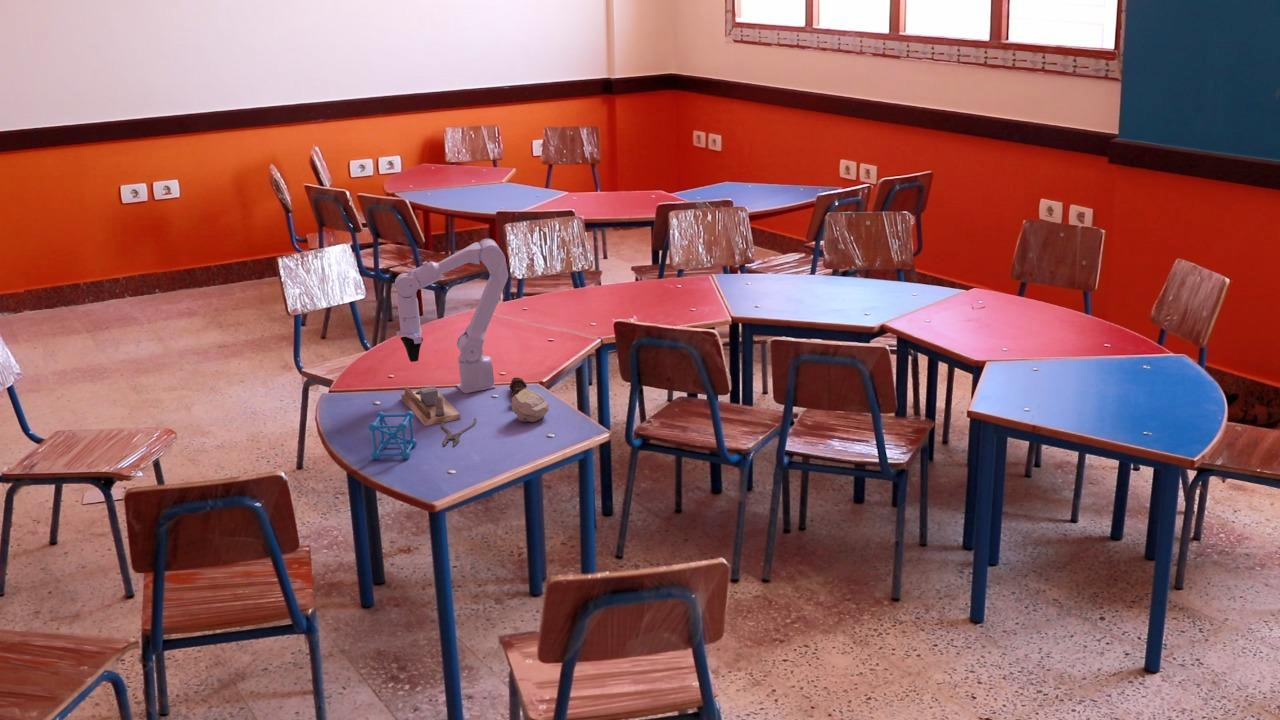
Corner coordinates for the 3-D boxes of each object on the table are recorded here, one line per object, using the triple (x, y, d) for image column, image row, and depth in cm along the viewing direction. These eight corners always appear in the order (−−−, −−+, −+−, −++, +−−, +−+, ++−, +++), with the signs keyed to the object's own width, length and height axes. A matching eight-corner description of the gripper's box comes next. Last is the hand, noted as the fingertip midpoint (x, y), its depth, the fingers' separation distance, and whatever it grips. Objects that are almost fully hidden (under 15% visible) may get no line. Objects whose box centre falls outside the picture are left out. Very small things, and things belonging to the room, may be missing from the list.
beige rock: (550, 410, 341) (514, 415, 341) (545, 381, 339) (509, 387, 339) (551, 423, 330) (514, 428, 329) (546, 393, 327) (509, 399, 327)
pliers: (475, 415, 338) (480, 442, 320) (476, 418, 338) (480, 445, 320) (440, 418, 337) (442, 446, 318) (440, 421, 337) (443, 449, 318)
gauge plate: (435, 392, 358) (433, 371, 356) (460, 418, 337) (458, 396, 335) (401, 398, 354) (399, 377, 352) (425, 425, 333) (422, 403, 331)
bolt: (520, 393, 360) (525, 410, 345) (504, 387, 358) (509, 403, 344) (528, 376, 359) (534, 392, 344) (513, 369, 357) (517, 385, 343)
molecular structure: (370, 461, 312) (366, 424, 309) (380, 445, 321) (376, 410, 318) (409, 460, 311) (405, 423, 308) (418, 445, 321) (414, 409, 318)
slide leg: (434, 399, 347) (433, 385, 346) (439, 403, 344) (437, 389, 342) (420, 402, 346) (419, 388, 344) (424, 406, 342) (423, 392, 341)
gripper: (388, 311, 353) (393, 356, 358) (402, 324, 341) (407, 370, 345) (412, 307, 356) (417, 352, 361) (426, 320, 344) (431, 366, 348)
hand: (414, 360), depth 353 cm, fingers closed
